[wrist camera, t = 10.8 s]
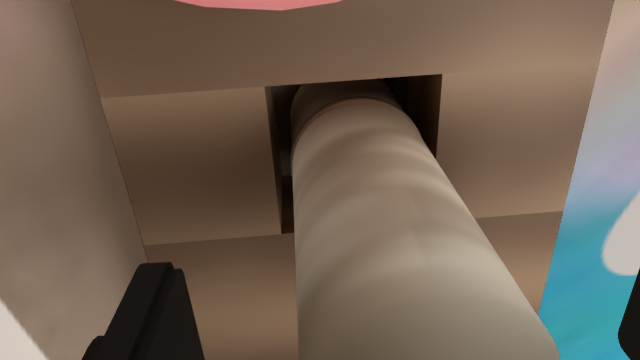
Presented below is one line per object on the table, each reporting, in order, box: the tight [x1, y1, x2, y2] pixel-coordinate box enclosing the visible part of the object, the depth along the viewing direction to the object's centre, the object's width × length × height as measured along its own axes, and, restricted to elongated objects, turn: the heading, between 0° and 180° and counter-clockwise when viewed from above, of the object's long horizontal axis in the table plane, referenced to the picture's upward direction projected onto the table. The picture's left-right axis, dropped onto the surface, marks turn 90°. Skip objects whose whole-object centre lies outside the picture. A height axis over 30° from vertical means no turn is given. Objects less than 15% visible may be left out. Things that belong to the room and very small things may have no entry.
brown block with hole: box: [71, 0, 614, 360], centre depth 15 cm, size 22×14×12 cm, turn 3°
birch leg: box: [290, 78, 560, 360], centre depth 12 cm, size 4×4×12 cm
